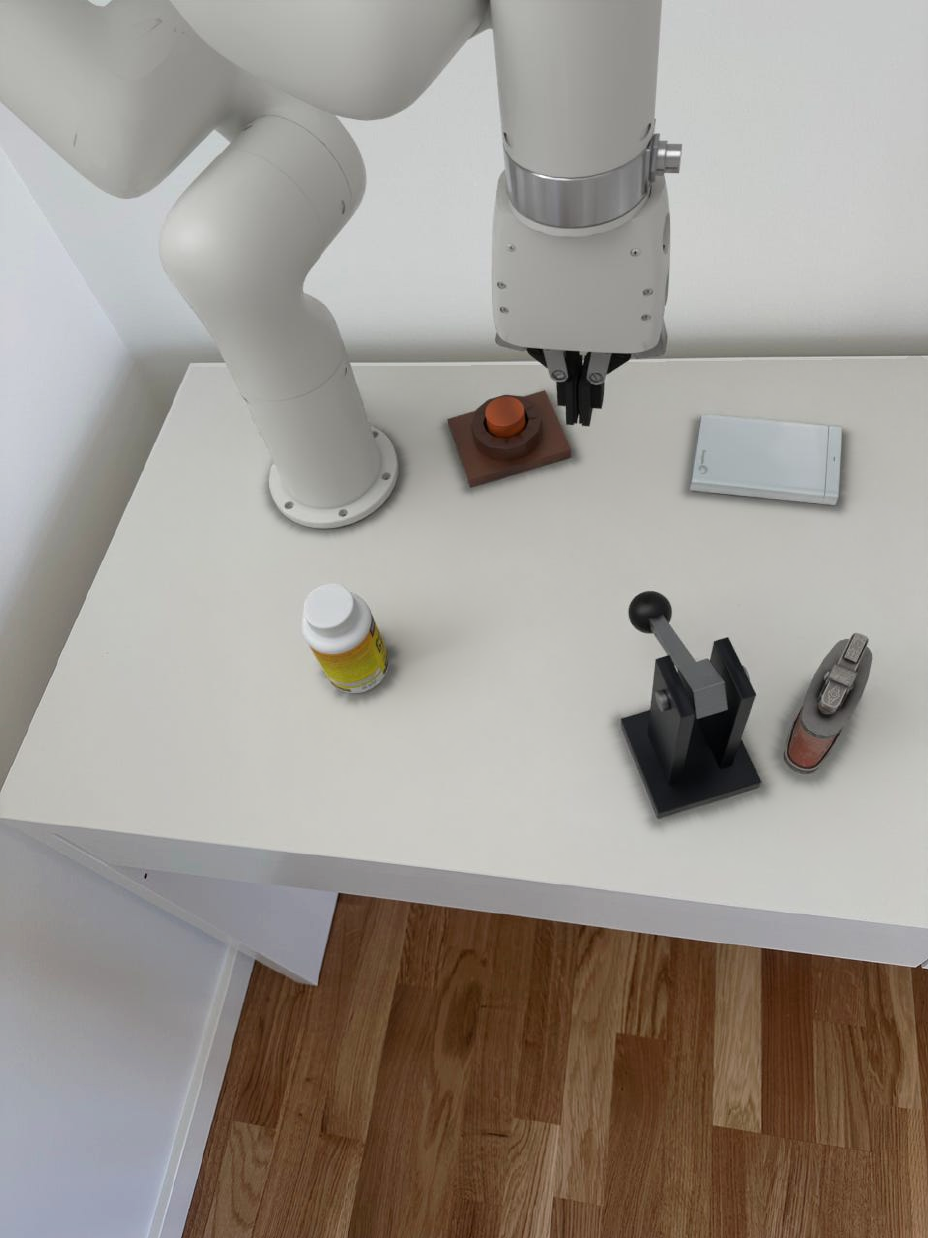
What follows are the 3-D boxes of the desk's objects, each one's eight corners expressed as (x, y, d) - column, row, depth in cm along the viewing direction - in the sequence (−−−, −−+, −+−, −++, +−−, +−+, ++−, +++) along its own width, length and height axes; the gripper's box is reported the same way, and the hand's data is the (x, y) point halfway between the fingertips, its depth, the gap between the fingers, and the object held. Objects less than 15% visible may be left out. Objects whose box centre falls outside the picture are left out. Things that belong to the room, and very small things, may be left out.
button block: (469, 487, 86) (465, 467, 83) (448, 427, 90) (444, 405, 87) (571, 457, 86) (570, 436, 84) (545, 398, 90) (544, 376, 88)
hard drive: (691, 481, 81) (839, 495, 78) (701, 411, 85) (843, 422, 82) (689, 492, 82) (835, 507, 80) (699, 423, 86) (839, 435, 83)
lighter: (817, 782, 68) (848, 729, 59) (773, 761, 69) (797, 706, 61) (857, 695, 71) (892, 633, 62) (814, 677, 72) (843, 613, 63)
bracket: (620, 725, 72) (623, 642, 60) (716, 695, 72) (738, 607, 61) (657, 819, 68) (668, 750, 56) (759, 788, 68) (792, 712, 56)
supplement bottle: (401, 677, 77) (375, 616, 68) (341, 707, 76) (307, 649, 67) (375, 627, 80) (347, 562, 71) (317, 655, 79) (282, 593, 70)
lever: (625, 624, 71) (619, 590, 69) (665, 613, 71) (660, 578, 69) (689, 726, 60) (684, 688, 58) (736, 712, 60) (732, 674, 58)
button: (493, 442, 85) (491, 430, 83) (482, 415, 87) (480, 402, 85) (530, 431, 85) (529, 419, 83) (519, 404, 87) (517, 391, 85)
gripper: (732, 122, 47) (696, 377, 63) (452, 119, 50) (485, 363, 66) (721, 218, 44) (686, 462, 60) (422, 208, 47) (464, 443, 63)
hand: (581, 409), depth 63 cm, fingers closed
